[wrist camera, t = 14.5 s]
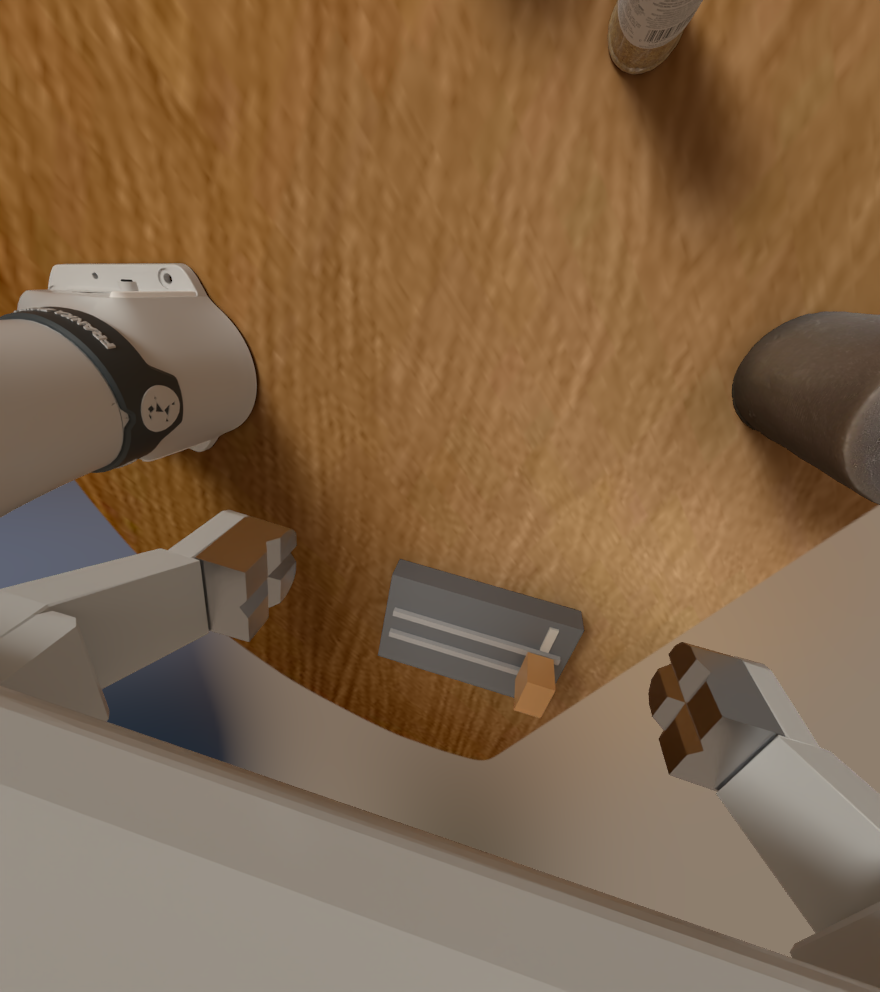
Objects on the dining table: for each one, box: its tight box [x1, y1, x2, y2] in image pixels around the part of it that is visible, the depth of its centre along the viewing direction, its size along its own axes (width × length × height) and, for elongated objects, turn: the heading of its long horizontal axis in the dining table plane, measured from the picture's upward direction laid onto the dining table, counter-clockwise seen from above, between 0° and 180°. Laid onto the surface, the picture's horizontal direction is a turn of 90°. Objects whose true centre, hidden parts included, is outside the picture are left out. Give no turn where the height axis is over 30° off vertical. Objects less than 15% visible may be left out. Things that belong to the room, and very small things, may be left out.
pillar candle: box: [732, 312, 880, 505], centre depth 25 cm, size 10×10×15 cm
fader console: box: [378, 559, 584, 698], centre depth 49 cm, size 22×14×4 cm, turn 78°
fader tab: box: [514, 652, 556, 718], centre depth 45 cm, size 3×5×5 cm, turn 168°
